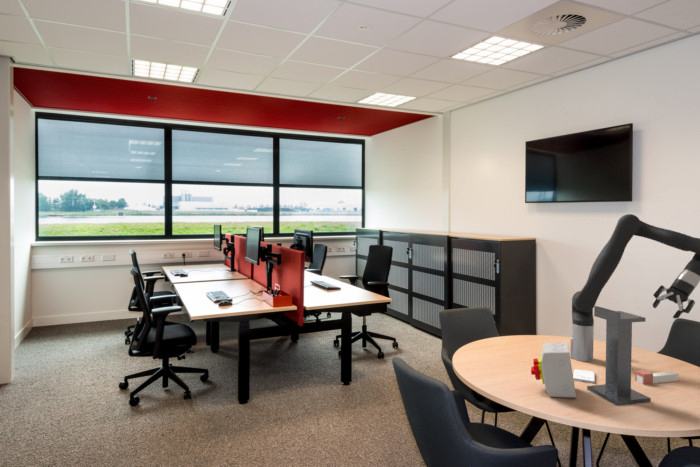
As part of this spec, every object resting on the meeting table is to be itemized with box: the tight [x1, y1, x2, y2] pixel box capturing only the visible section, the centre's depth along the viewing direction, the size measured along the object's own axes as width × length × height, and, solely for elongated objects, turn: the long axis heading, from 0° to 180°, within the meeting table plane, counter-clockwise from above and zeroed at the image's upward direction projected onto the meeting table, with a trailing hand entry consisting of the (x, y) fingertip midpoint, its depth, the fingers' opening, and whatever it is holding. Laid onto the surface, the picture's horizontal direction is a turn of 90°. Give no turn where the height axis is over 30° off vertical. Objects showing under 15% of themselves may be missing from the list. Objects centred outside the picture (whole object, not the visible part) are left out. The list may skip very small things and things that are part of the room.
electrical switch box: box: [530, 341, 577, 398], centre depth 175 cm, size 15×15×20 cm
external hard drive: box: [573, 368, 596, 385], centre depth 189 cm, size 2×8×12 cm
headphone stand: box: [586, 305, 652, 406], centre depth 169 cm, size 15×15×34 cm
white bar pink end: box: [634, 369, 679, 386], centre depth 184 cm, size 18×4×4 cm, turn 101°
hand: (663, 312), depth 191 cm, fingers open, 8 cm apart
